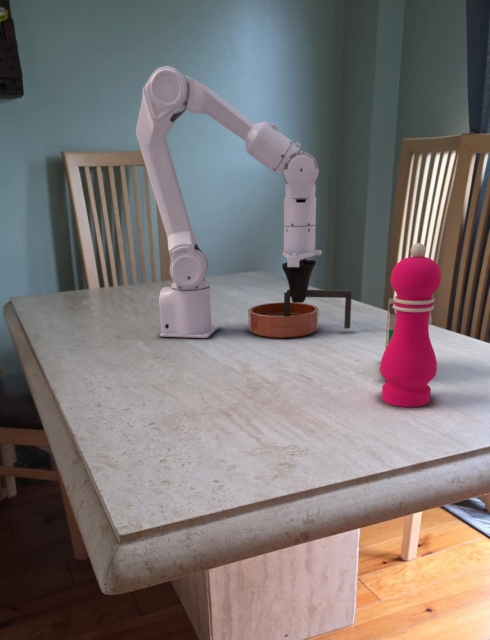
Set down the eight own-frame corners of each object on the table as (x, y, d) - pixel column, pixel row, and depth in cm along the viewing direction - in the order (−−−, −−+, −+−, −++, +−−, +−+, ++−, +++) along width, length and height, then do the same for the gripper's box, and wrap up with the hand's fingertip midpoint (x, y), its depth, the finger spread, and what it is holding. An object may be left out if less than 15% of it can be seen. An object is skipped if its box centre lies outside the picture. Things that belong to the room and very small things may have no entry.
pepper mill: (371, 392, 86) (380, 241, 78) (422, 389, 87) (436, 238, 79) (387, 410, 80) (399, 247, 72) (441, 407, 80) (460, 245, 72)
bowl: (242, 338, 116) (241, 315, 114) (257, 322, 128) (256, 301, 126) (312, 340, 113) (313, 317, 111) (321, 324, 125) (322, 302, 123)
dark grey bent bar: (262, 328, 119) (262, 291, 116) (267, 323, 123) (267, 287, 120) (348, 330, 115) (350, 292, 112) (350, 325, 119) (352, 288, 117)
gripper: (316, 228, 105) (315, 309, 110) (326, 221, 117) (324, 294, 123) (275, 229, 106) (275, 308, 112) (289, 222, 119) (289, 293, 125)
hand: (298, 301), depth 118 cm, fingers closed on dark grey bent bar
